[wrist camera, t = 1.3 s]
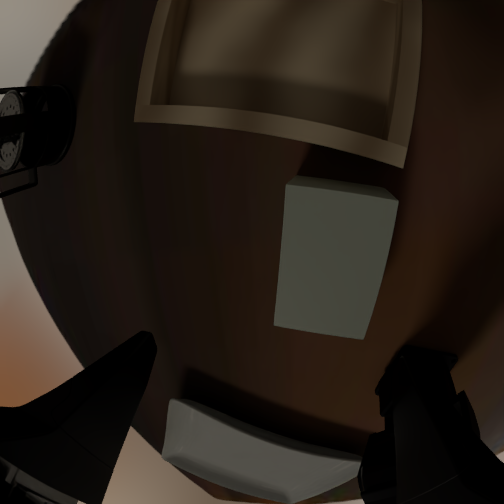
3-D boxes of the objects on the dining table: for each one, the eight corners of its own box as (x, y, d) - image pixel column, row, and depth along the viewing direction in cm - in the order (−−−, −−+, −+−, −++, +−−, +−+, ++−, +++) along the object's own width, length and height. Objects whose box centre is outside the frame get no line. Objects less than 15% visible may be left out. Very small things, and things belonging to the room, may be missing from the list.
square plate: (168, 446, 42) (160, 460, 39) (183, 375, 30) (168, 398, 27) (294, 492, 39) (290, 507, 36) (378, 444, 27) (378, 467, 23)
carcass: (410, 2, 10) (425, -25, 6) (391, 164, 16) (408, 170, 12) (188, -17, 13) (160, -38, 10) (159, 122, 19) (122, 121, 15)
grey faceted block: (383, 187, 17) (398, 200, 13) (360, 302, 20) (363, 339, 16) (296, 174, 18) (286, 184, 14) (285, 291, 22) (273, 325, 18)
